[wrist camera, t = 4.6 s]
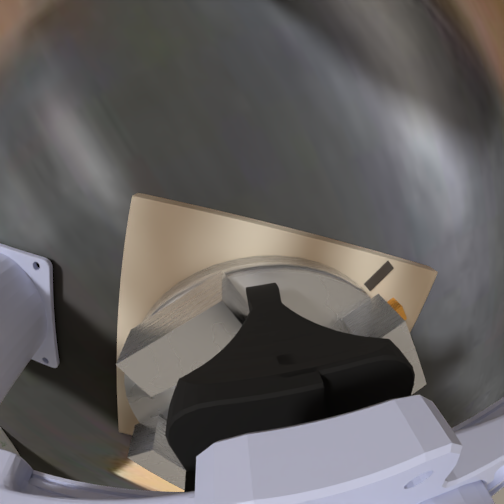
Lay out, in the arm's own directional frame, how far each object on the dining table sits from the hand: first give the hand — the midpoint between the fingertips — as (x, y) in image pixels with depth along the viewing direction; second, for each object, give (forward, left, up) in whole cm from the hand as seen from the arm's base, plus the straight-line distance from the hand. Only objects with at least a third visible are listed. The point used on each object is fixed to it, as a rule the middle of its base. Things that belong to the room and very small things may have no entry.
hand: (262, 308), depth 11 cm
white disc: (+2, -6, -3) cm, 7 cm away
